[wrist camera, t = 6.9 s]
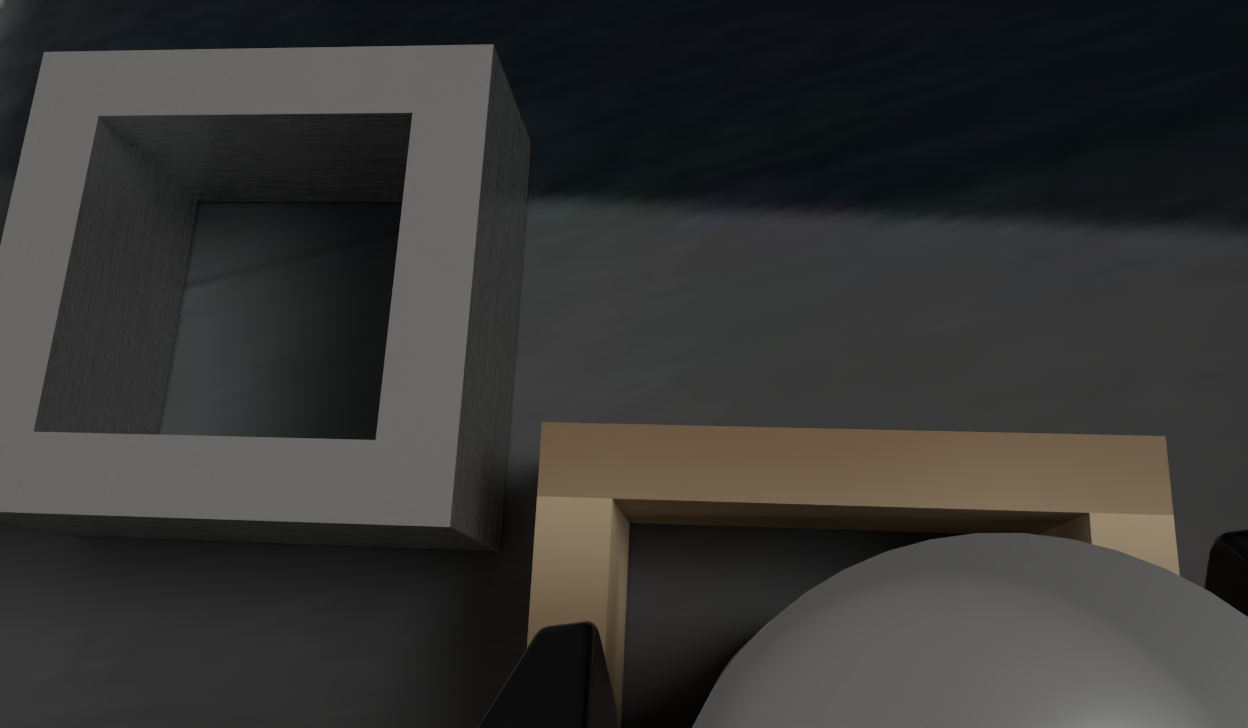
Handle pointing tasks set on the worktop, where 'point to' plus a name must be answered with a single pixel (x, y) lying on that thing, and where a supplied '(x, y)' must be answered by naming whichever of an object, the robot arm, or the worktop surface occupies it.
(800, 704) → the tin canister
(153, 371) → the socket block
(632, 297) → the worktop surface
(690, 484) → the wooden box
